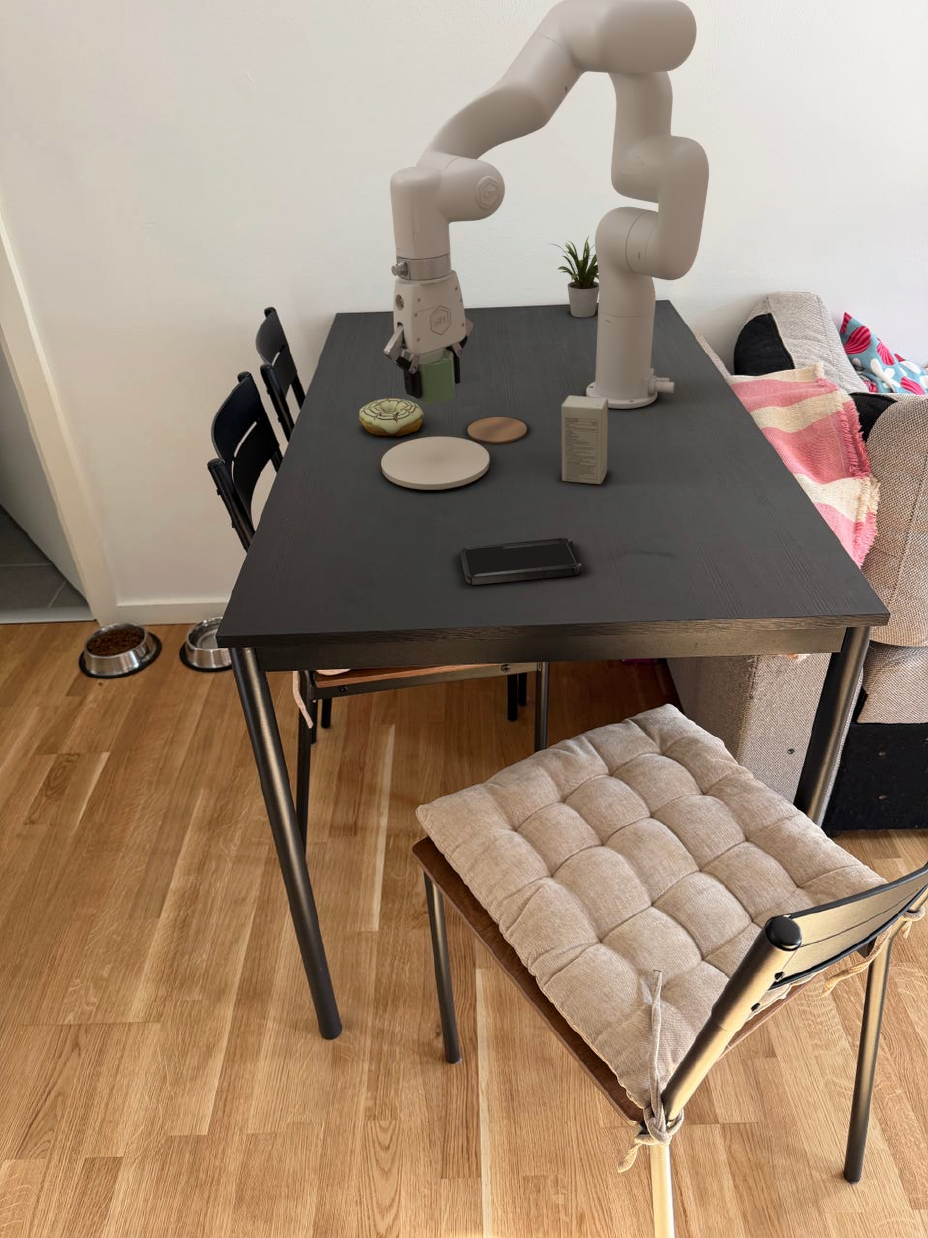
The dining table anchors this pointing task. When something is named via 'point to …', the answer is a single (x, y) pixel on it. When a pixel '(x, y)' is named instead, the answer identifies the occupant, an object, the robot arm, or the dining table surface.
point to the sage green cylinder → (437, 376)
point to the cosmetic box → (584, 439)
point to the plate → (435, 463)
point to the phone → (520, 561)
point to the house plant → (582, 282)
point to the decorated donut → (391, 417)
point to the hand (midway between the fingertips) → (433, 387)
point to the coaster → (497, 430)
